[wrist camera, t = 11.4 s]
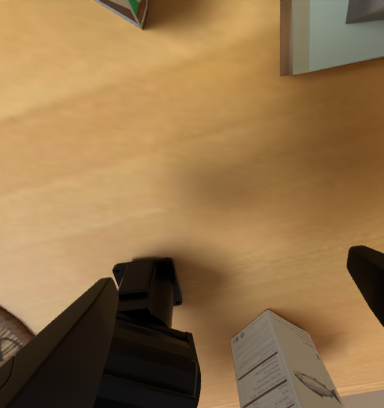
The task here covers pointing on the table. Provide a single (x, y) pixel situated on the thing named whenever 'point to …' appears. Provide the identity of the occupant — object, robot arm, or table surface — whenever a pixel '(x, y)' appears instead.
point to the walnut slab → (289, 38)
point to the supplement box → (280, 367)
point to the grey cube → (364, 11)
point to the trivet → (11, 335)
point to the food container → (128, 10)
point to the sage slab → (331, 36)
